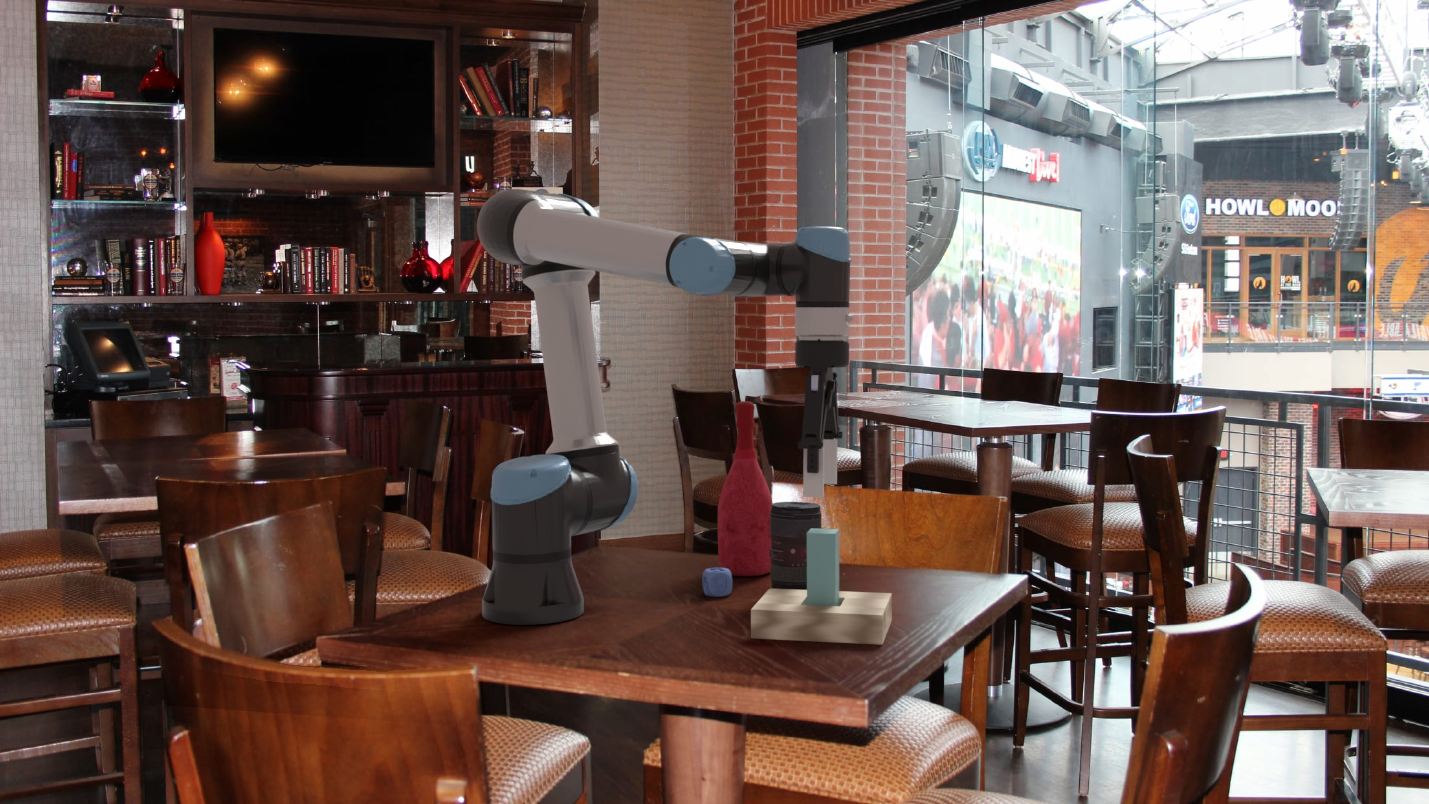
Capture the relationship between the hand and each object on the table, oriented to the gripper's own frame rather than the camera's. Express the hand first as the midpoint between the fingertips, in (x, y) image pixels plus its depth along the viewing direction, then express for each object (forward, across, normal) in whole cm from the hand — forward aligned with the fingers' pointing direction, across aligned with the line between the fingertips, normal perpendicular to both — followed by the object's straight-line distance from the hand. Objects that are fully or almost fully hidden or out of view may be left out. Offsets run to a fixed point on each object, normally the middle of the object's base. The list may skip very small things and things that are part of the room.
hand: (820, 490), depth 172 cm
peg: (+20, 0, -1) cm, 20 cm away
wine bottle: (+20, +38, +18) cm, 47 cm away
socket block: (+20, 0, -1) cm, 20 cm away
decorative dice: (+20, +20, +19) cm, 34 cm away
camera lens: (+20, +19, +6) cm, 28 cm away
